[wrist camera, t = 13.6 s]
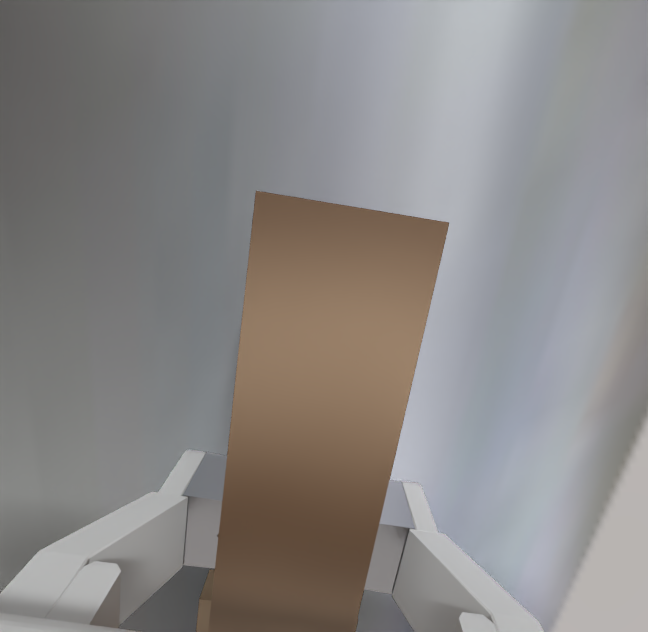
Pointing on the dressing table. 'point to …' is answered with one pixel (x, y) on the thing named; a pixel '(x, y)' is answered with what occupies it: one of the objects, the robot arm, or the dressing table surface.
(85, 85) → the dressing table surface
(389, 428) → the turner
